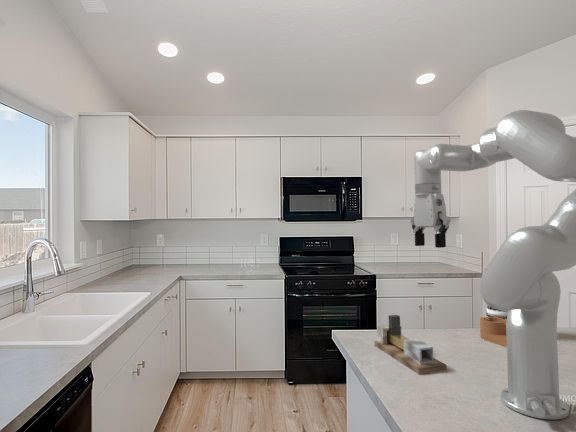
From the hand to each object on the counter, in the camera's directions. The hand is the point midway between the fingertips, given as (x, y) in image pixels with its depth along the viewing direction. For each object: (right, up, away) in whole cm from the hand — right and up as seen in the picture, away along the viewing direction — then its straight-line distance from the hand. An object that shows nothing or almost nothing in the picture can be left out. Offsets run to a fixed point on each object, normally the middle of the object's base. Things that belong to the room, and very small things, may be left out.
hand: (429, 246), depth 108 cm
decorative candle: (+35, -34, +23) cm, 55 cm away
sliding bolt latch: (-6, -35, +2) cm, 35 cm away
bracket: (+32, -35, +13) cm, 48 cm away
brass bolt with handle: (-7, -32, +5) cm, 33 cm away
